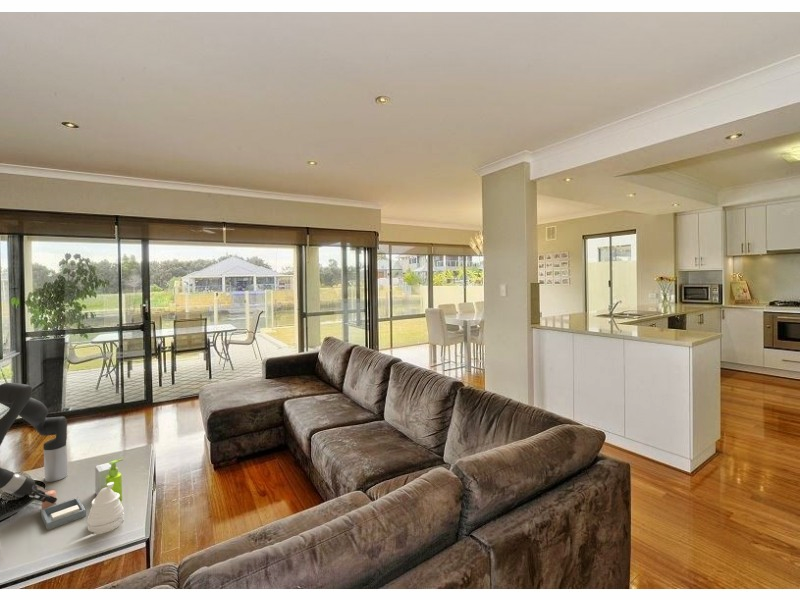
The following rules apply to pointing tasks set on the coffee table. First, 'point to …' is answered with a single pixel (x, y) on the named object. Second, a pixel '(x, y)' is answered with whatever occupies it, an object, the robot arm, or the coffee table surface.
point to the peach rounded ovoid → (48, 504)
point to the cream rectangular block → (64, 512)
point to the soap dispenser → (115, 478)
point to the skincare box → (101, 476)
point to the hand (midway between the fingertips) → (54, 498)
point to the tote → (65, 519)
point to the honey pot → (105, 511)
